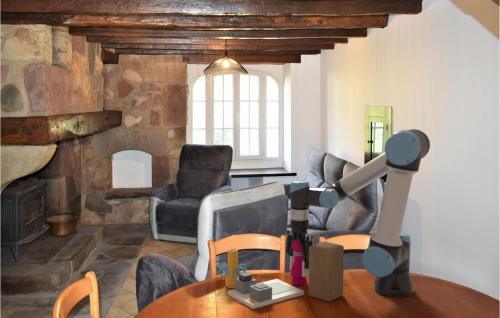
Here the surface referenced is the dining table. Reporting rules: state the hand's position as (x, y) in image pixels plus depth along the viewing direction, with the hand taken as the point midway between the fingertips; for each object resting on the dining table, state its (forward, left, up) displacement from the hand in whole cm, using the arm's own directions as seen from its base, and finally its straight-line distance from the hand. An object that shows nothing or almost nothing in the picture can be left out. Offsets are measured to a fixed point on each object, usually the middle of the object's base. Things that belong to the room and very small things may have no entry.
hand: (299, 273), depth 211 cm
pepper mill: (0, 0, -4) cm, 4 cm away
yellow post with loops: (+13, +24, -4) cm, 28 cm away
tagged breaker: (-7, +25, -2) cm, 26 cm away
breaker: (+3, +25, -1) cm, 25 cm away
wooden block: (-17, +1, -4) cm, 18 cm away
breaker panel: (-3, +19, -4) cm, 20 cm away
